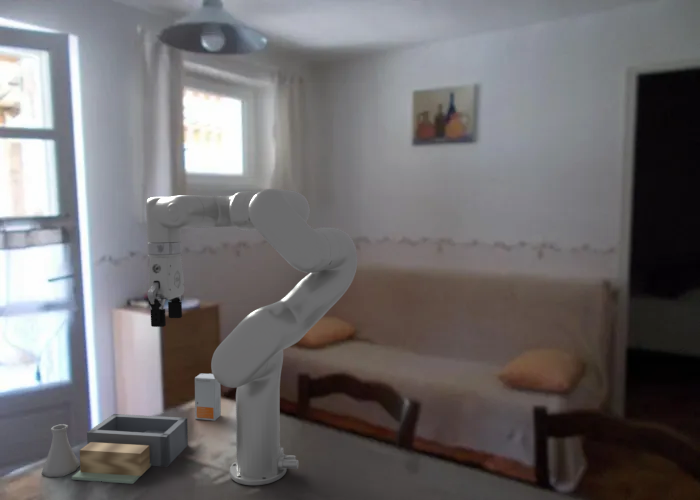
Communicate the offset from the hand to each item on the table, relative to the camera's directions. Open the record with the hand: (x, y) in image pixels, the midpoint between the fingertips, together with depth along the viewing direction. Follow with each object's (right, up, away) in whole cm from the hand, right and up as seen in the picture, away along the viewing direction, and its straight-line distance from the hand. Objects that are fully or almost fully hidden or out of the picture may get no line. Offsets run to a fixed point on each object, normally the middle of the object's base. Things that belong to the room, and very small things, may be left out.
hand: (167, 322), depth 126 cm
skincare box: (+3, -30, +23) cm, 38 cm away
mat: (-10, -32, -8) cm, 35 cm away
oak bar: (-9, -32, -8) cm, 34 cm away
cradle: (-6, -32, +1) cm, 32 cm away
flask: (-21, -33, -7) cm, 40 cm away
